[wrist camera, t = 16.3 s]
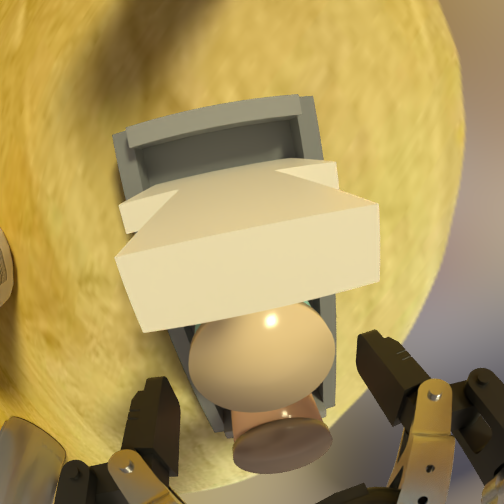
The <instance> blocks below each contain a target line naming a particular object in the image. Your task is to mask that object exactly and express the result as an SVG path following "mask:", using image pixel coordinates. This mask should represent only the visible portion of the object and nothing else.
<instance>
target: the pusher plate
mask: <svg viewBox="0 0 504 504" xmlns="http://www.w3.org/2000/svg"><path fill="white" fill-rule="evenodd" d="M119 209H120V213H121V216H122V220H123V224H124V227H125V231H126V234H129V233H133V232H137V231H138V232H137V233H136V234H135V235H134V236H133V237H132V238H131V239H130V241H129V242H128V243H127V244H126V245H125V246H124V247H123V248H122V249H121V251H120V252H119V253H118V254H117V255H116V256H115V257H114V258H115V261H116V264H117V267H118V270H119V272H120V275H121V278H122V281H123V284H124V286H125V289H126V292H127V294H128V297H129V299H130V302H131V305H132V307H133V310H134V312H135V314H136V317H137V319H138V322H139V324H140V326H141V329H142V331H143V333H146V332H153V331H160V330H166V329H172V328H178V327H184V326H189V325H195V324H201V323H206V322H211V321H217V320H222V319H227V318H232V317H237V316H242V315H247V314H251V313H256V312H261V311H265V310H270V309H274V308H279V307H283V306H287V305H291V304H296V303H300V302H304V301H308V300H312V299H316V298H320V297H324V296H328V295H332V294H336V293H339V292H343V291H347V290H351V289H354V288H358V287H361V286H365V285H369V284H372V283H376V282H379V281H380V221H379V204H378V203H375V202H372V201H369V200H367V199H364V198H361V197H358V196H355V195H353V194H350V193H347V192H344V191H341V190H339V183H338V174H337V166H336V162H335V161H324V160H313V159H300V158H286V159H279V160H273V161H266V162H260V163H254V164H249V165H243V166H238V167H233V168H227V169H222V170H217V171H212V172H208V173H203V174H198V175H194V176H190V177H185V178H181V179H177V180H172V181H168V182H164V183H160V184H156V185H154V186H152V187H150V188H148V189H146V190H145V191H143V192H141V193H139V194H137V195H135V196H134V197H132V198H130V199H128V200H126V201H125V202H123V203H121V204H119Z"/></svg>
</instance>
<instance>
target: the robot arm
mask: <svg viewBox="0 0 504 504" xmlns="http://www.w3.org/2000/svg"><path fill="white" fill-rule="evenodd" d="M356 366H357V370H358V372H359V374H360V376H361V377H362V379H363V381H364V382H365V384H366V385H367V387H368V388H369V390H370V391H371V393H372V395H373V396H374V398H375V399H376V401H377V403H378V404H379V406H380V407H381V409H382V410H383V412H384V414H385V415H386V417H387V419H388V420H389V422H390V423H391V425H392V427H393V426H396V425H398V424H400V423H402V425H403V426H404V429H403V433H402V437H401V442H400V446H399V450H398V454H397V458H396V462H395V465H394V469H393V471H392V473H391V476H390V479H389V481H388V484H387V487H370V488H366V486H365V484H364V483H362V484H360V485H357V486H354V487H351V488H349V489H346V490H343V491H340V492H337V493H334V494H333V495H331V496H329V497H327V498H325V499H324V500H322V501H320V502H318V503H316V504H446V499H447V495H448V490H449V484H450V479H451V472H452V465H453V458H454V449H455V448H454V447H455V438H456V439H457V441H458V443H459V444H460V446H461V447H462V449H463V451H464V452H465V454H466V455H467V457H468V459H469V460H470V462H471V464H472V465H473V467H474V469H475V470H476V472H477V474H478V475H479V477H480V479H481V481H482V482H483V484H484V486H485V487H484V489H483V491H482V499H481V504H504V384H503V383H502V382H501V380H499V378H498V377H497V376H496V375H495V374H494V373H493V372H492V371H490V370H488V369H486V368H477V369H475V370H473V371H472V372H471V373H470V374H469V377H468V379H467V380H465V381H462V382H457V383H454V384H448V383H447V382H445V381H443V380H441V379H431V378H430V377H429V375H428V374H427V373H426V372H425V371H424V370H423V369H422V367H421V366H420V365H419V364H418V363H417V362H416V361H415V360H414V359H413V357H411V355H410V354H409V353H408V352H407V351H405V348H404V347H403V346H402V345H401V344H400V343H399V342H398V341H396V340H394V339H392V338H390V337H387V338H383V337H382V335H381V334H380V333H379V332H378V331H377V330H371V331H369V332H366V333H362V334H359V335H358V339H357V354H356ZM180 414H181V412H180V405H179V402H178V399H177V397H176V395H175V393H174V391H173V389H172V387H171V385H170V383H169V381H168V379H167V378H166V377H165V376H163V377H154V378H148V379H147V380H146V385H145V389H144V391H138V392H137V394H136V395H135V396H134V398H133V399H132V401H131V406H130V412H129V414H128V420H127V423H126V428H125V432H124V437H123V442H122V447H121V450H120V451H118V452H116V453H114V454H113V455H112V456H111V458H110V459H109V462H107V463H104V464H99V465H94V466H87V465H86V464H85V463H84V462H82V461H80V460H72V461H69V462H67V463H66V464H65V465H64V466H63V467H62V465H63V462H64V459H65V455H66V453H65V451H64V449H63V448H62V447H61V445H60V444H59V443H58V442H57V441H55V440H54V439H53V438H52V437H51V436H49V435H48V434H47V433H45V432H44V431H43V430H41V429H40V428H38V427H36V426H35V425H33V424H31V423H29V422H27V421H25V420H23V419H20V418H17V417H11V418H9V420H8V421H5V422H4V424H3V426H2V428H1V430H0V504H52V503H53V498H54V494H55V490H56V486H57V483H58V487H57V491H56V497H55V503H54V504H186V503H185V502H184V501H183V500H182V499H181V498H180V496H179V495H178V494H177V493H176V492H175V491H174V490H173V489H172V488H171V487H170V485H169V477H175V476H178V460H179V433H180ZM480 414H481V415H480ZM482 417H483V418H484V419H483V418H482ZM485 421H486V422H487V423H486V422H485ZM488 425H489V426H490V427H489V426H488ZM450 432H452V433H453V435H451V433H450ZM454 436H455V437H454ZM59 476H60V477H59ZM58 479H59V481H58Z"/></svg>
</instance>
